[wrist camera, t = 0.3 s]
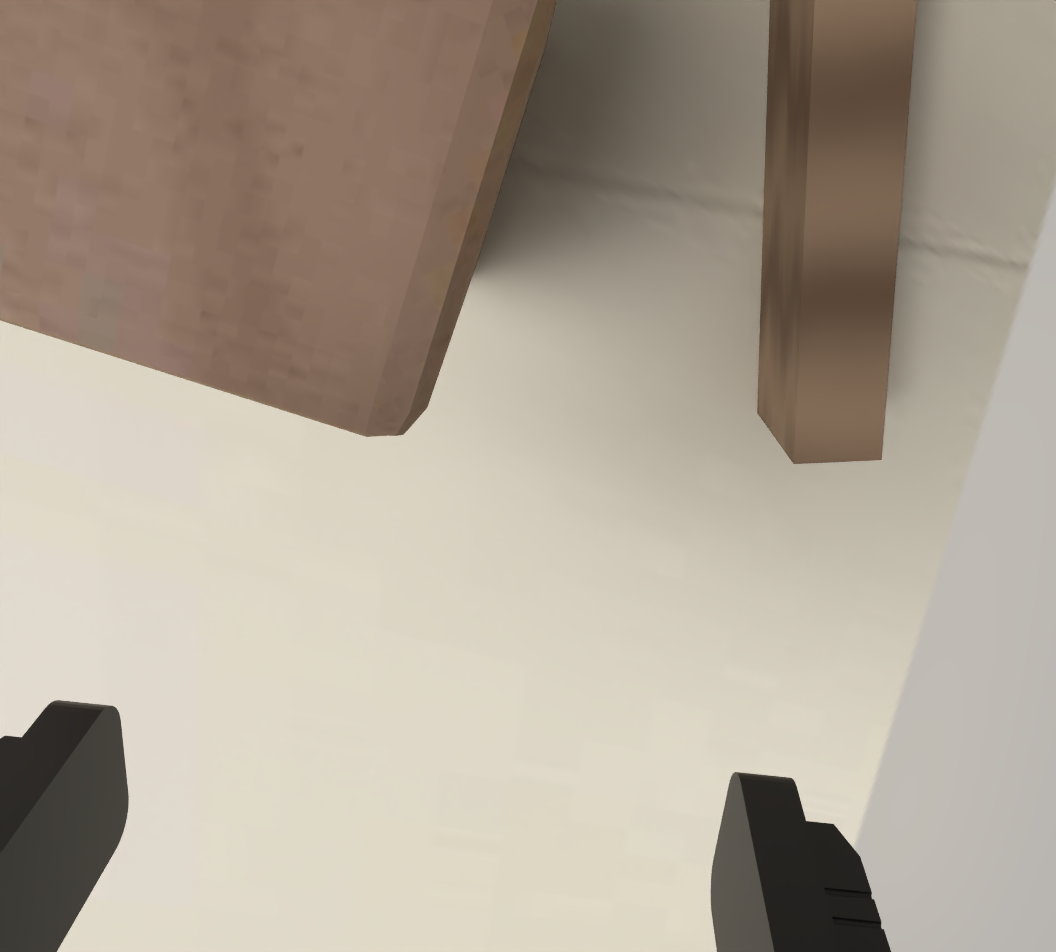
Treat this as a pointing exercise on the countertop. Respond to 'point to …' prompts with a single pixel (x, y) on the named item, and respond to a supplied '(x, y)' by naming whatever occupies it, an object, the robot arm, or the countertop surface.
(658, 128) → the countertop surface
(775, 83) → the board
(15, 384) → the countertop surface
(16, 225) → the wooden block
